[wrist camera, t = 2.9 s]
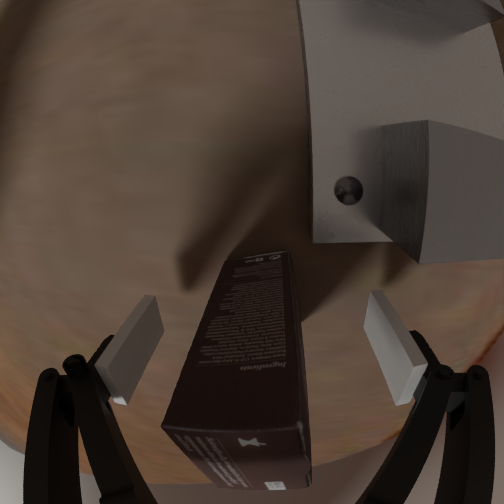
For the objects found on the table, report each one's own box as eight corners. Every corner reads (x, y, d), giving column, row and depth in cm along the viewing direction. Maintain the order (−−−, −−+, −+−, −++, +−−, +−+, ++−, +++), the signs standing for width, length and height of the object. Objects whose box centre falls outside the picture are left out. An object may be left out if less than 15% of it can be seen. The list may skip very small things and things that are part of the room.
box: (218, 260, 17) (152, 426, 6) (289, 248, 17) (319, 422, 6) (239, 335, 19) (215, 491, 8) (301, 326, 19) (321, 488, 8)
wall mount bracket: (309, 236, 16) (330, 285, 11) (285, -58, 8) (288, -109, 3) (493, 234, 15) (543, 265, 9) (469, -9, 7) (507, -29, 2)
